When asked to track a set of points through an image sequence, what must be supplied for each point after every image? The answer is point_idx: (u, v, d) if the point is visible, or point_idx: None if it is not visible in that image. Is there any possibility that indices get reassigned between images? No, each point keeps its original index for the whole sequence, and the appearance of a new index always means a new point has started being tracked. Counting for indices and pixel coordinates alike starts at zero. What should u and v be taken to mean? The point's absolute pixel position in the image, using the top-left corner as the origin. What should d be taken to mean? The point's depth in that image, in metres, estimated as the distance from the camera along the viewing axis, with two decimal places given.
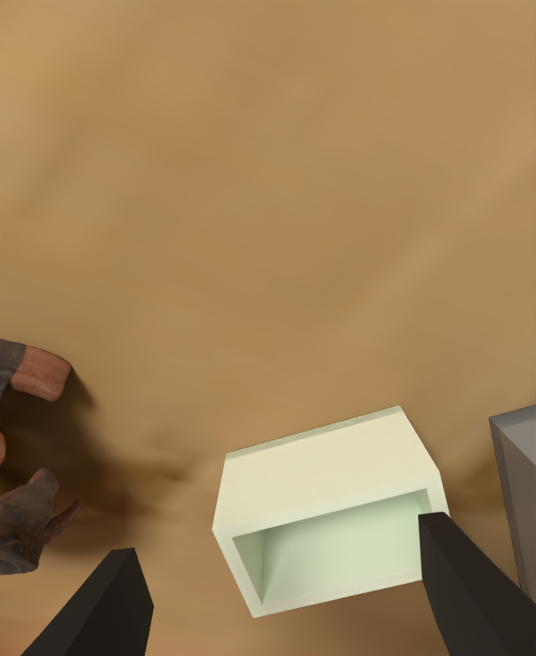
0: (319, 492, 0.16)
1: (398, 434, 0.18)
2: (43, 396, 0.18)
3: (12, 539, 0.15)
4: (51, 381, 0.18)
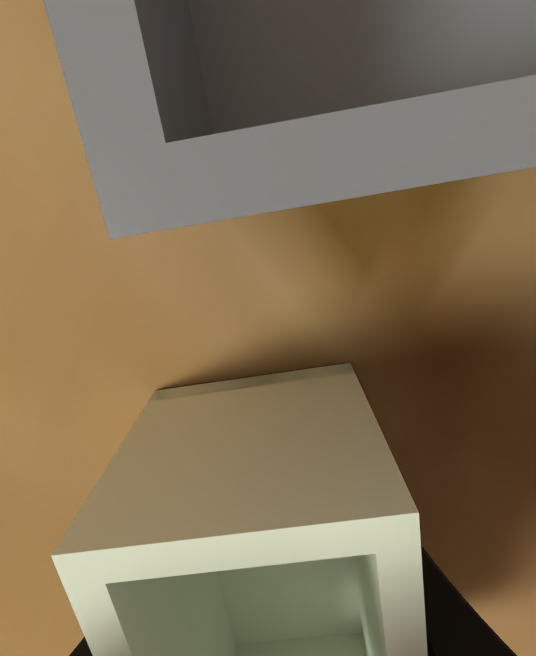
0: None
1: None
2: None
3: None
4: None
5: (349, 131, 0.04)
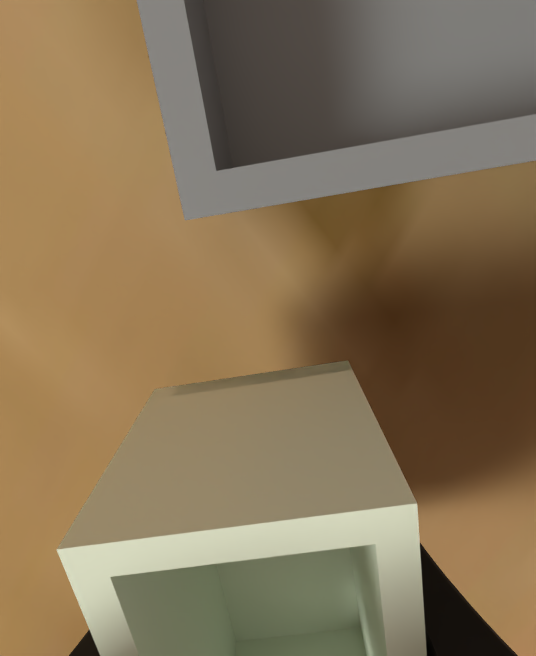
0: None
1: None
2: None
3: None
4: None
5: (308, 165, 0.08)
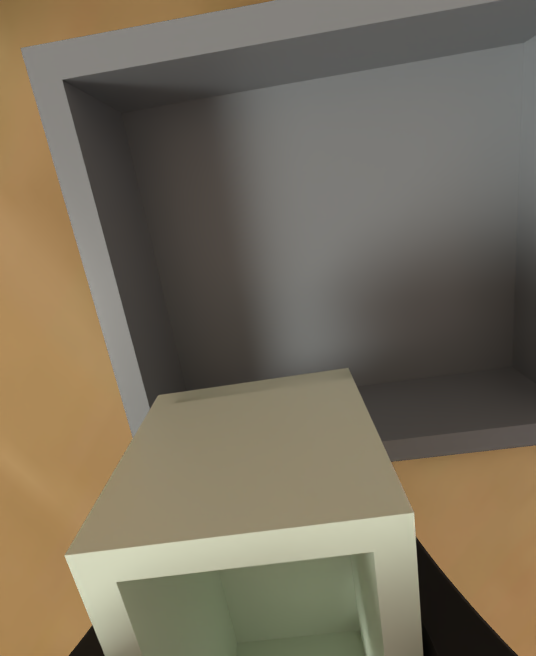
0: None
1: None
2: None
3: None
4: None
5: None
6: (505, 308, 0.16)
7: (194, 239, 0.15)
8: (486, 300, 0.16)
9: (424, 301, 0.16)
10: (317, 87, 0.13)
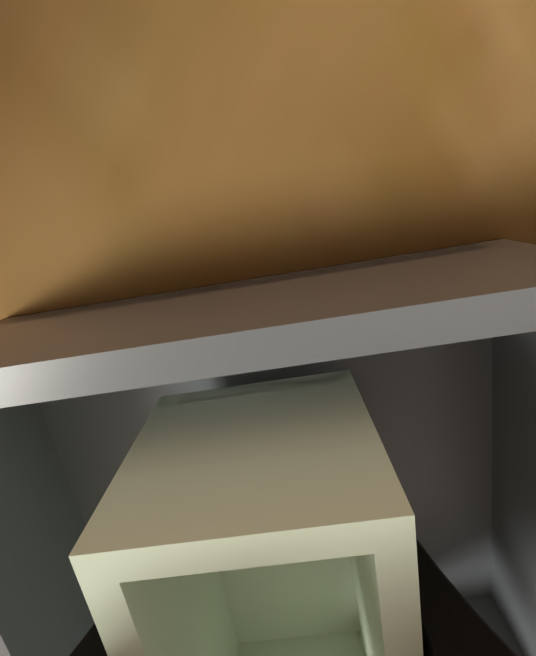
0: None
1: None
2: None
3: None
4: None
5: None
6: (481, 539, 0.13)
7: (115, 473, 0.13)
8: (458, 531, 0.13)
9: None
10: None
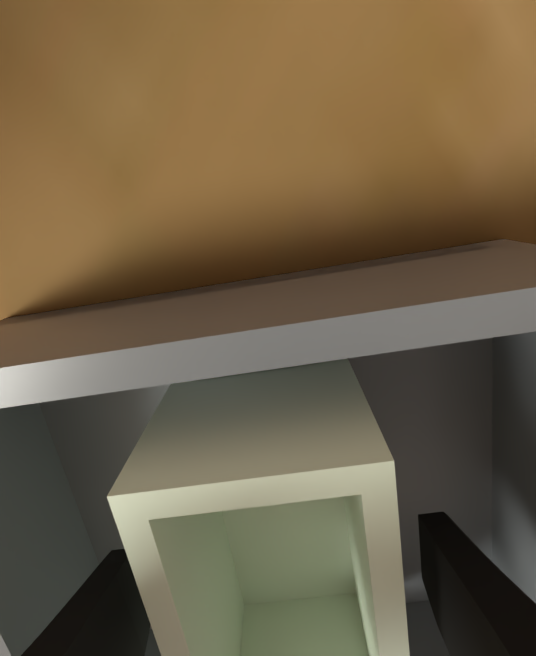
0: None
1: None
2: None
3: None
4: None
5: None
6: (481, 539, 0.13)
7: (116, 473, 0.13)
8: None
9: None
10: None
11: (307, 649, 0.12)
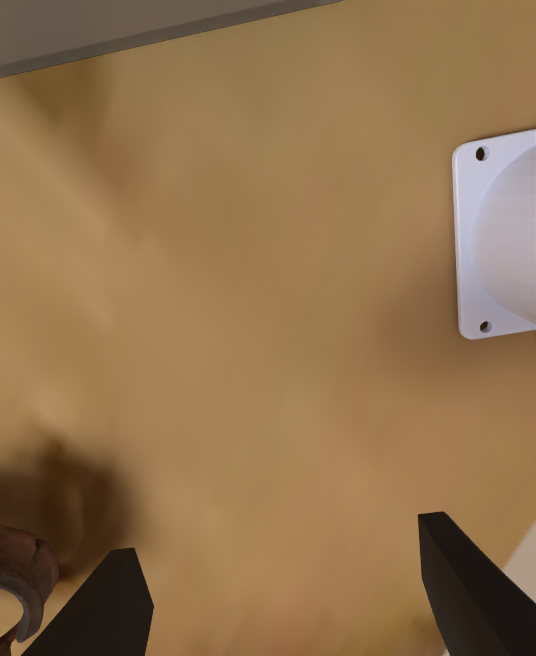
0: None
1: None
2: None
3: None
4: None
5: None
6: None
7: None
8: None
9: None
10: None
11: None
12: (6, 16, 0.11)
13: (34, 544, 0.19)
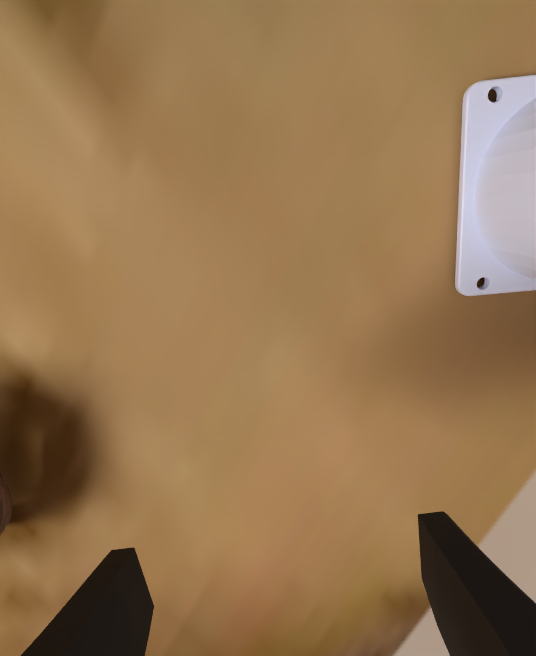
0: None
1: None
2: None
3: None
4: None
5: None
6: None
7: None
8: None
9: None
10: None
11: None
12: None
13: None
